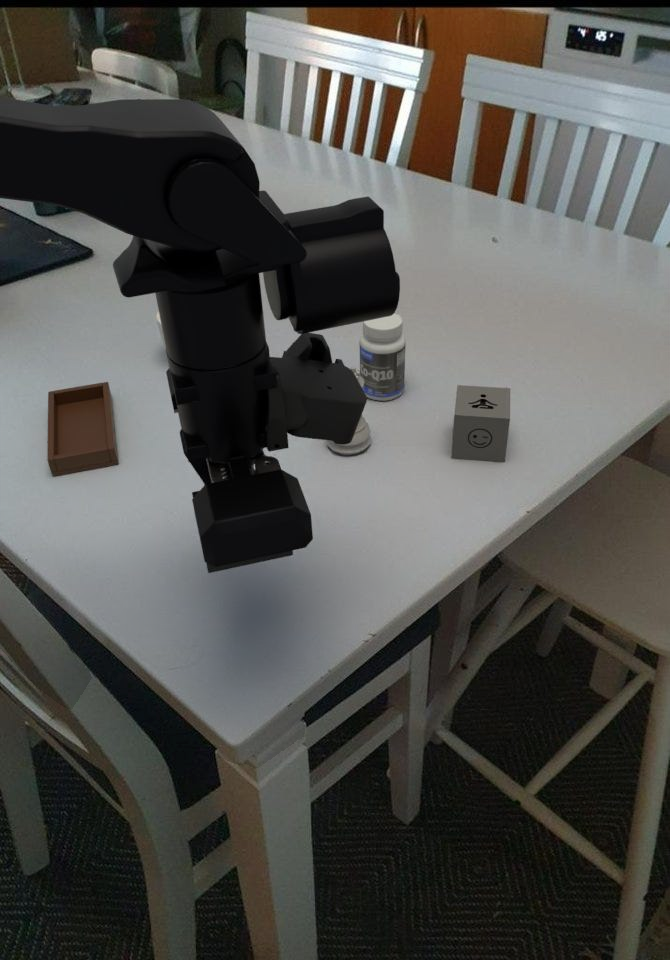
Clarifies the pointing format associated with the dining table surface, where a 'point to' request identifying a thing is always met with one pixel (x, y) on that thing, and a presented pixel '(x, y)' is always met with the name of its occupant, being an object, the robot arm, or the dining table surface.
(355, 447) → the rook chess piece
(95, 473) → the dining table surface
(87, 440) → the tray
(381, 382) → the pill bottle
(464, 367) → the dining table surface
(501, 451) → the dice cube
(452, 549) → the dining table surface
